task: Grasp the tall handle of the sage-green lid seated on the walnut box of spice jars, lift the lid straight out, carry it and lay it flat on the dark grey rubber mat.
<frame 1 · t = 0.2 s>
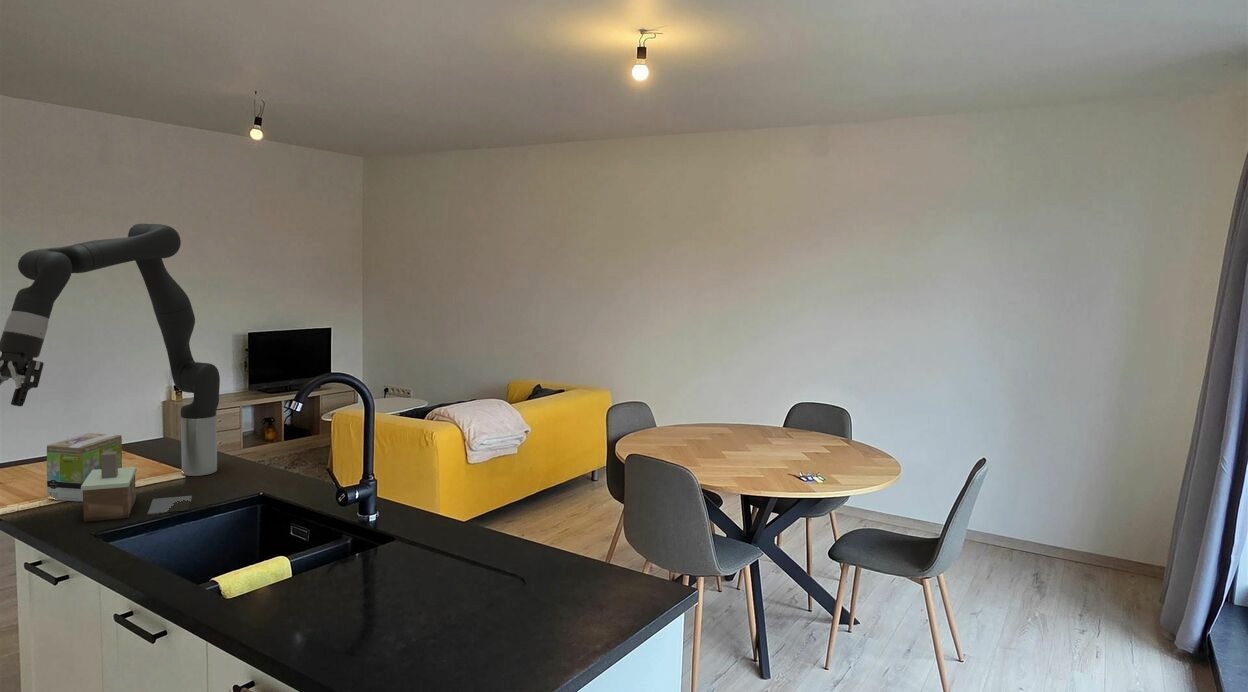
hand: (2, 404, 166), 31 cm above the worktop, tool tilted 20°, fingers open, 8 cm apart
lid: (110, 483, 188), point 7 cm above the worktop, touching crate
mat: (170, 505, 195), on the worktop
crate: (110, 510, 189), on the worktop
tea box: (86, 493, 202), on the worktop
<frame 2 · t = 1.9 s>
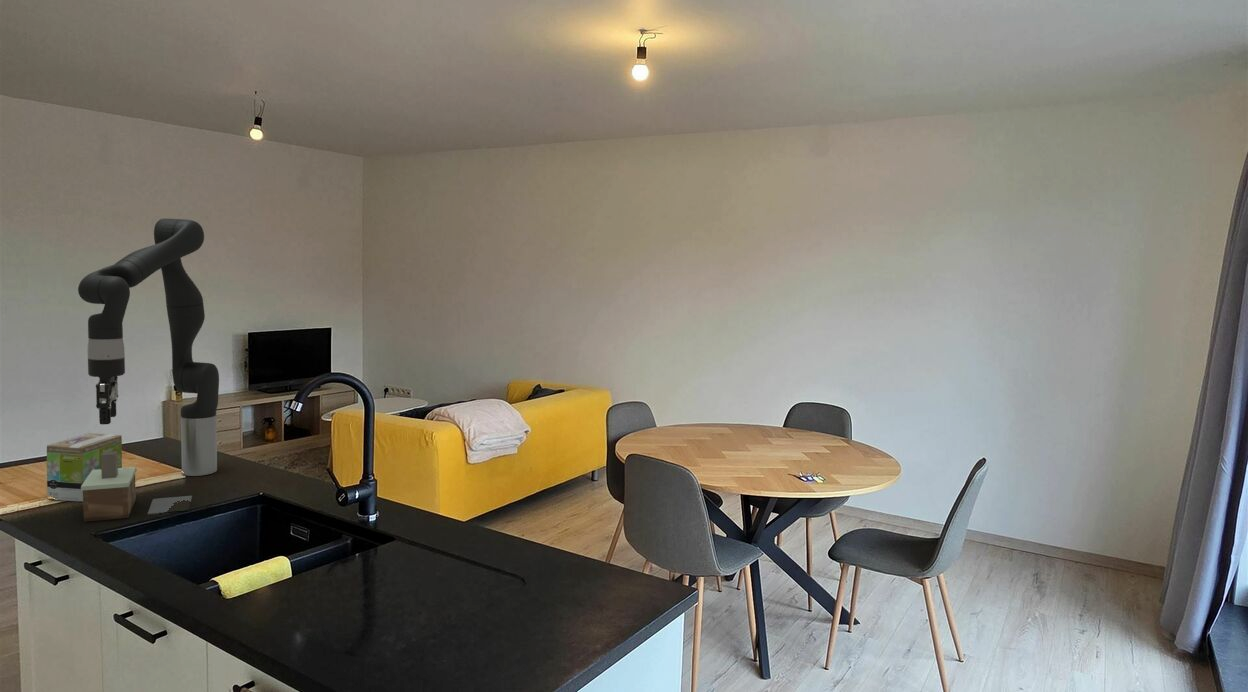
hand: (108, 420, 186), 23 cm above the worktop, tool pointing down, fingers open, 8 cm apart
nothing on the worktop moved.
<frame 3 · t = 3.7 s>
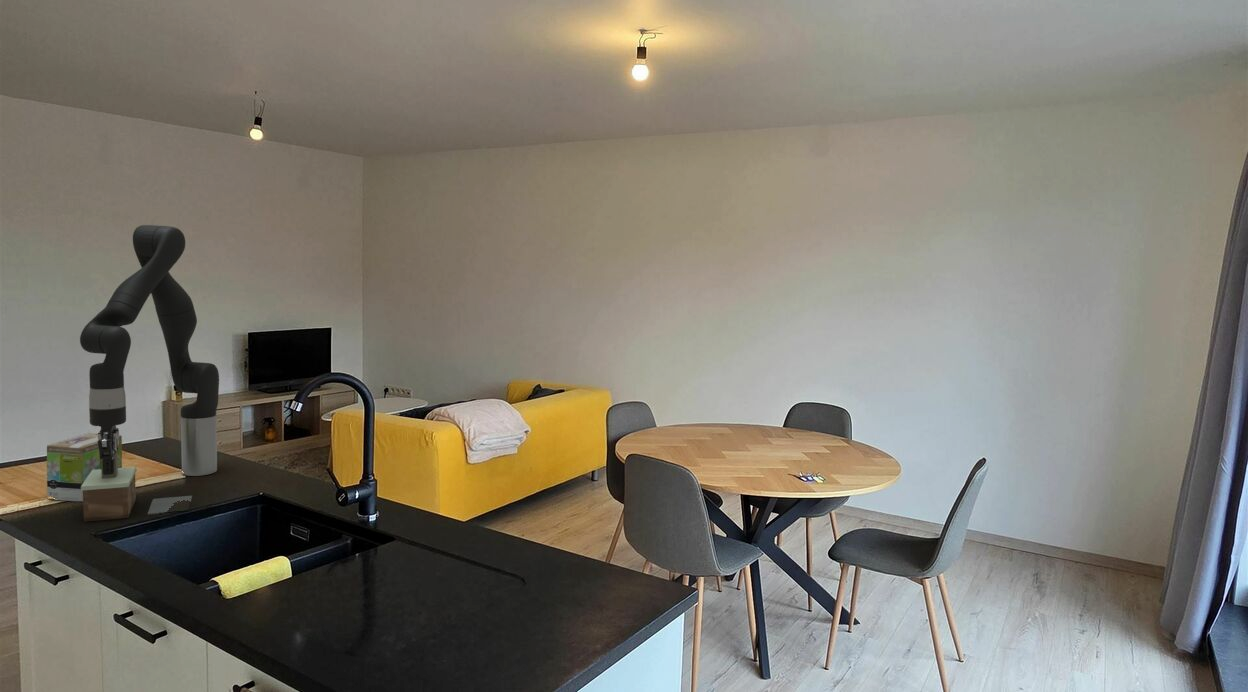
hand: (109, 471, 188), 10 cm above the worktop, tool pointing down, fingers closed on lid, 3 cm apart
lid: (110, 483, 188), point 7 cm above the worktop, touching crate, gripper
everything else where it was.
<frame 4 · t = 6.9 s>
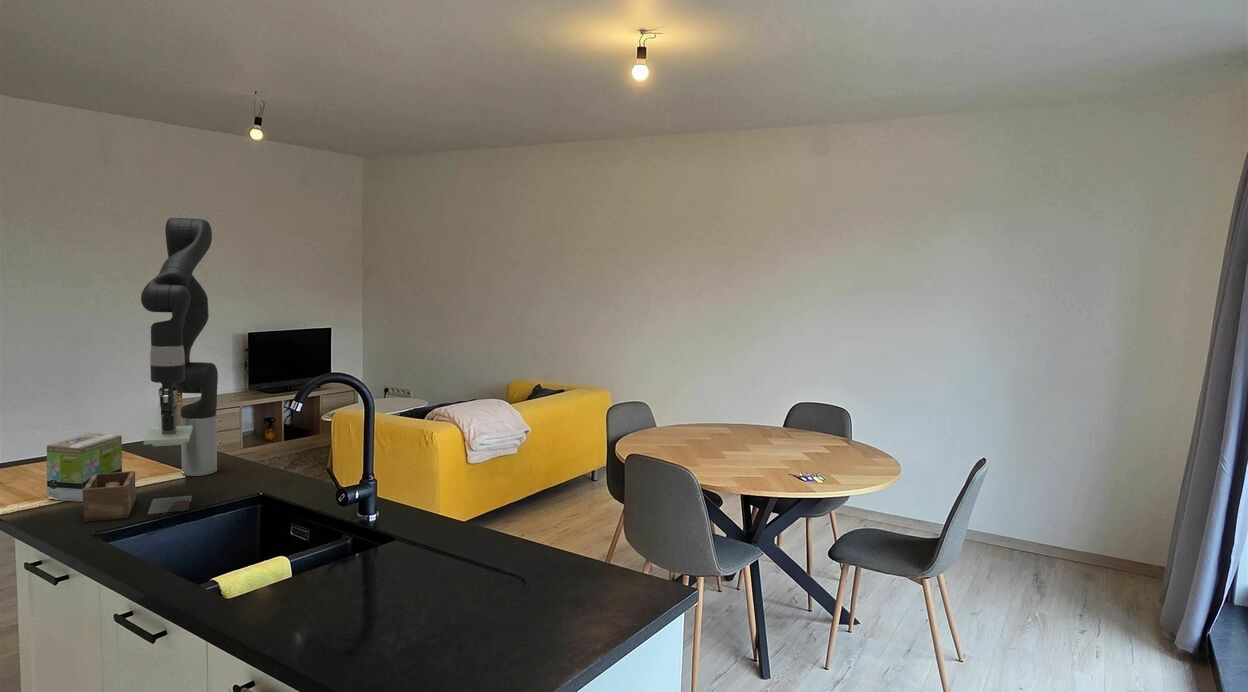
hand: (169, 428, 193), 21 cm above the worktop, tool pointing down, fingers closed on lid, 3 cm apart
lid: (169, 440, 193), point 17 cm above the worktop, touching gripper
everything else where it was.
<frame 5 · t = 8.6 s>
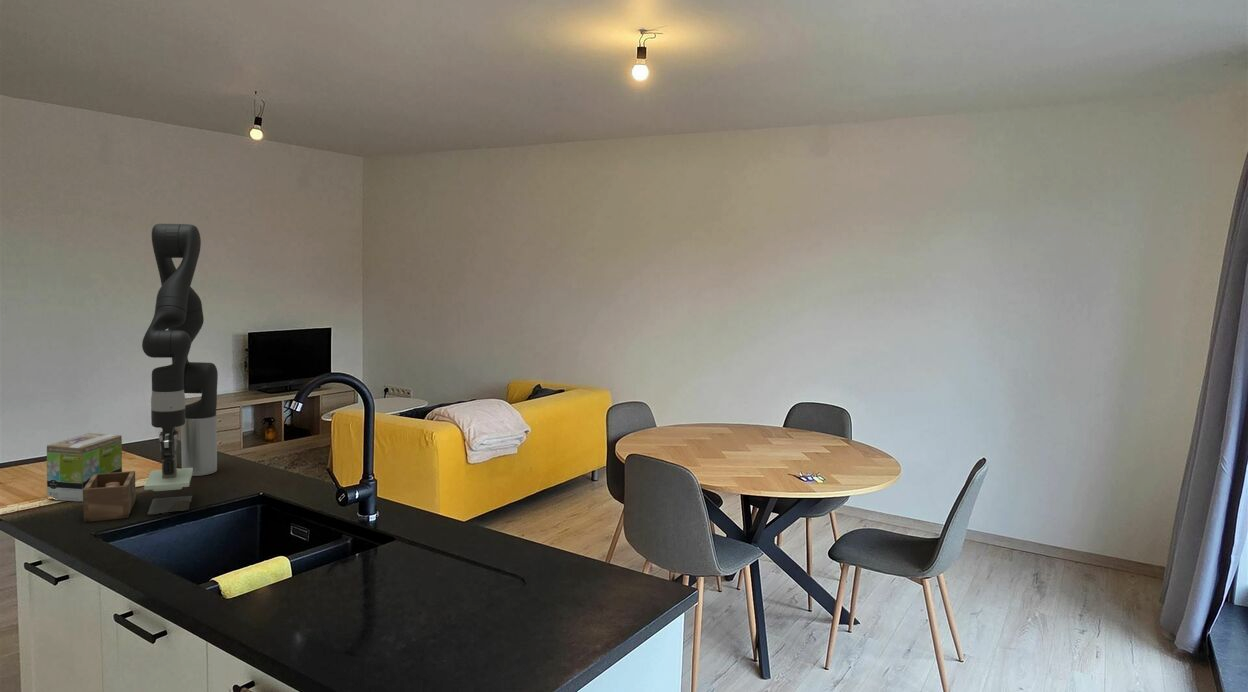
hand: (169, 472, 194), 9 cm above the worktop, tool pointing down, fingers closed on lid, 3 cm apart
lid: (169, 483, 194), point 6 cm above the worktop, touching gripper
everything else where it was.
when the fingers open (5 cm above the worktop, at t = 9.9 s): lid drops 1 cm, resting on mat.
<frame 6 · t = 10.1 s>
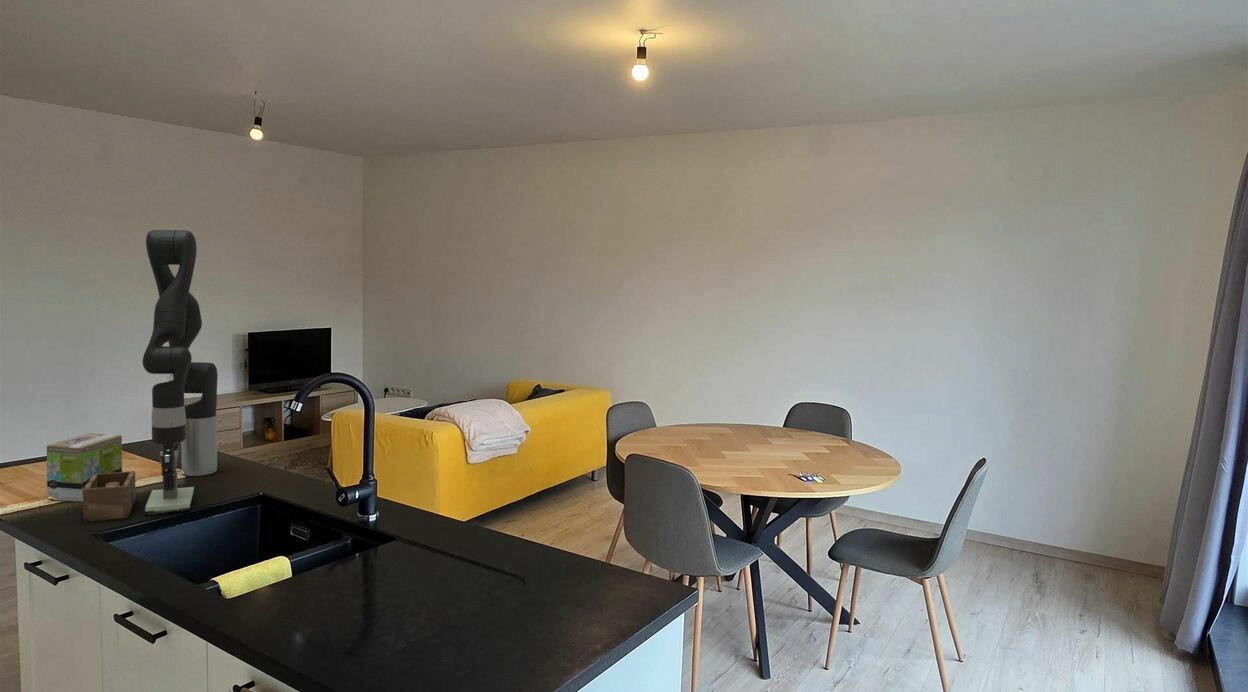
hand: (170, 486, 194), 5 cm above the worktop, tool pointing down, fingers open, 5 cm apart
lid: (170, 504, 195), resting on mat
everything else where it was.
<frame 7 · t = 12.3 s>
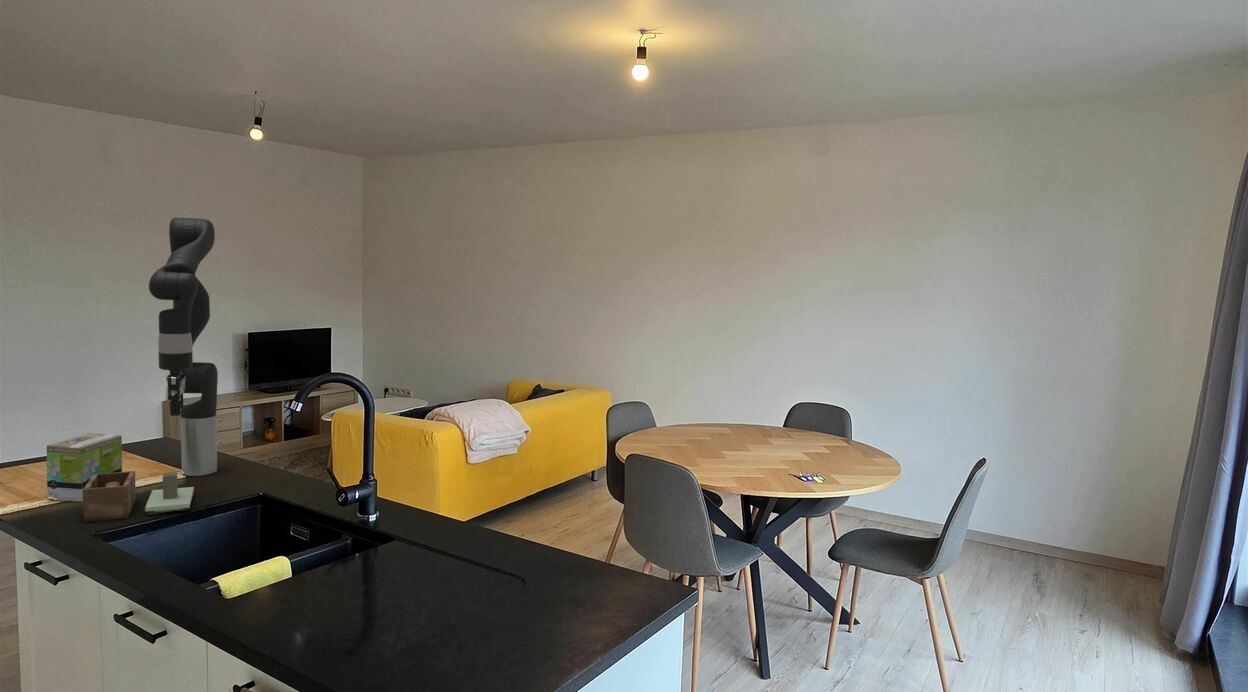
hand: (177, 411, 194), 25 cm above the worktop, tool pointing down, fingers open, 8 cm apart
nothing on the worktop moved.
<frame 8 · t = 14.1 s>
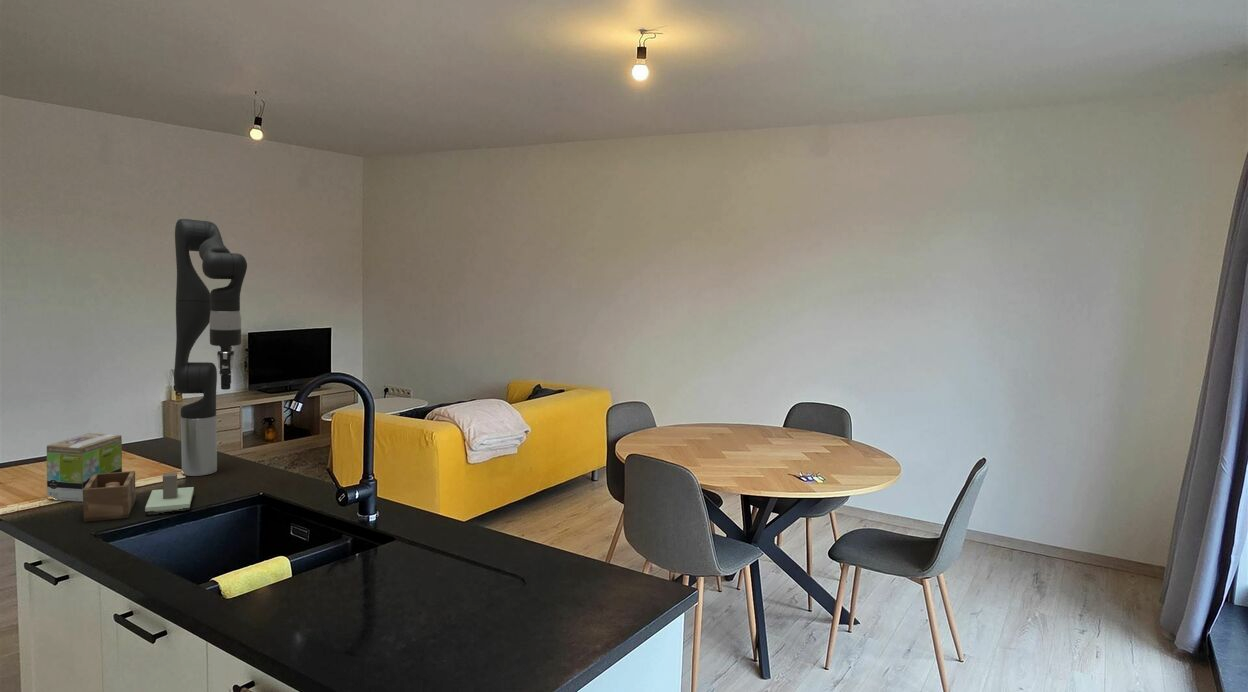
hand: (226, 386, 203), 30 cm above the worktop, tool pointing down, fingers open, 8 cm apart
nothing on the worktop moved.
at the end: lid inside the target area (0.0 cm from its centre), resting on mat; lid tilted 0°; the gripper is holding nothing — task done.
